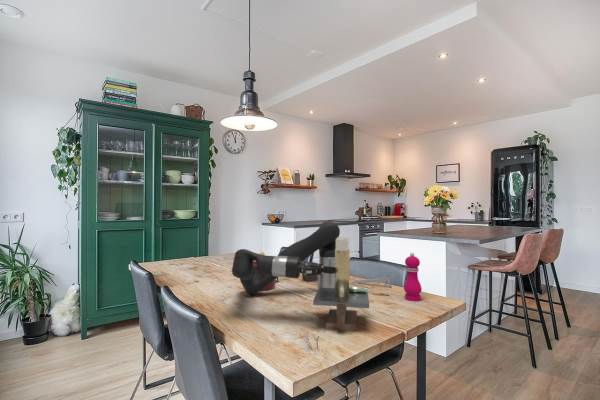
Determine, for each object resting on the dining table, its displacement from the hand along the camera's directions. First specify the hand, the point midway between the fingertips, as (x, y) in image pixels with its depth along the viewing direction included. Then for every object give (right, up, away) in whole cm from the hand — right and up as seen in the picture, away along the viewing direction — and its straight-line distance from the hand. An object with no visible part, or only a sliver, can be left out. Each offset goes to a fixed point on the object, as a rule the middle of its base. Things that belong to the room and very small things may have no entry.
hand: (334, 270), depth 109 cm
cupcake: (-7, -19, +61) cm, 64 cm away
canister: (-31, -19, +46) cm, 59 cm away
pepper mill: (+37, -18, +26) cm, 49 cm away
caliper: (+24, -19, +50) cm, 58 cm away
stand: (+3, -18, 0) cm, 18 cm away
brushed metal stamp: (+2, -10, 0) cm, 10 cm away
